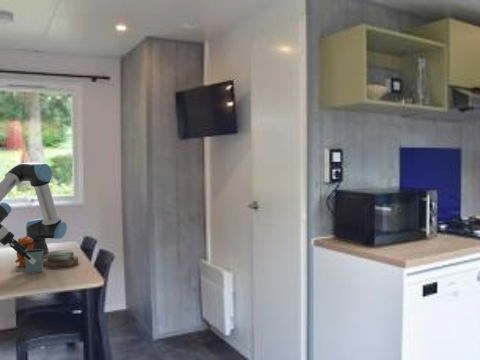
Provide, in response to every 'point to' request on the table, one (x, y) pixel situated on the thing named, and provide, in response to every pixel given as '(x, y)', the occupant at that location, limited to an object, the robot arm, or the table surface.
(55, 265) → the plinth
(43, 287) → the table surface
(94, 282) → the table surface
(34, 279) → the table surface
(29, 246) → the toy dinosaur
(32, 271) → the teal tapered container
